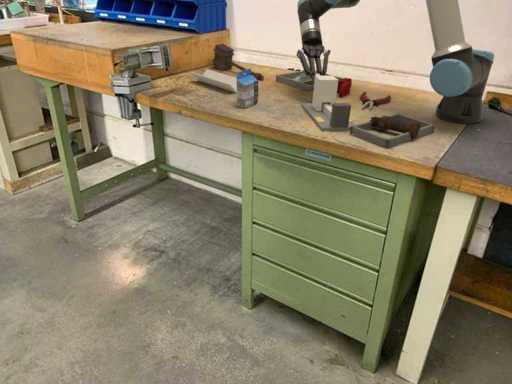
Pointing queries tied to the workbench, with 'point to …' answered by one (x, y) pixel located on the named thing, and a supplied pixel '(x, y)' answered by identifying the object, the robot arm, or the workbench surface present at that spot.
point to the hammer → (228, 60)
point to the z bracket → (218, 80)
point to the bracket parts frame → (288, 80)
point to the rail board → (320, 114)
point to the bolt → (396, 125)
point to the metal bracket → (303, 77)
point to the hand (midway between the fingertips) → (318, 91)
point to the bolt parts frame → (361, 132)
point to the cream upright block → (324, 91)
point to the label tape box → (246, 89)
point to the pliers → (373, 101)
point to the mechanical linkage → (344, 87)
